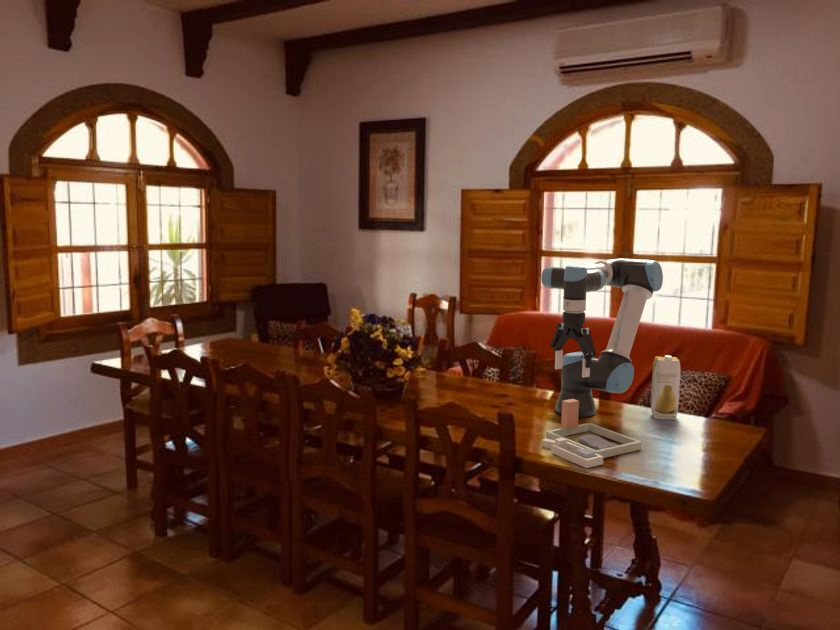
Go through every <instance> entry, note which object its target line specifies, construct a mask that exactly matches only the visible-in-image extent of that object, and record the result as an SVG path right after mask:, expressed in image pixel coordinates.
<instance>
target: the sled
mask: <svg viewBox="0 0 840 630" xmlns="http://www.w3.org/2000/svg"><path fill="white" fill-rule="evenodd" d="M567 439H568V438H567ZM567 439H564V438H558V439H555V444H554V445H552V448H551V453H552V454H553V455H556V456H558V457H560V458H562V459H565V460H567V461H569V462H571V463H574V464H575V465H576V464H577V466H578V465H579V466H580V467H583V468H585V469H589V468H592V467H593V468H594V467H597V466H601V465H604V458H603V456H601V455H598V454H596V453H595V457H592V458H588V459H586V458H583V457H581V456H579V455H576V454H577V450H580V449H584V448H582V447H579V446H577V445H574V444H572V443H570V442H567Z"/></svg>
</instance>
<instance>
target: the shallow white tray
mask: <svg viewBox="0 0 840 630" xmlns="http://www.w3.org/2000/svg"><path fill="white" fill-rule="evenodd" d="M578 413H579V401H578V400H575V399H569V400H563V401H562V414H561V421H560V422H561V423H560V427H561V428H557V429H551V430H546V431H545V438H547V439H551V440H555V439H558V438H564V439H567V442H570V443H572V444H574V445H577V446H579V447H582V448H584V449H585V448H587V449H589V450H592V451H594V452H595V453H596V454H598V455H601V456H603V459H606V458H609V457H614V456H618V455H622V454H626V453H631V452H635V451H639V450H642V446H643V445H642V443H643V441H641V440H638V439H635V438H633V437H630V436H626V435H624V434H622V433H619V432H616V431H613V430H611V429H608V428H606V427H605V428H604V426H603V427H602V426H600V425H597V424H595V423H592V422H586V423H581V424H579V417H578ZM584 432H585V433H586V432H592V433H595V434H597V435H598V436H599V435H600V436H602V437H604V438H608V439H610V440H613V441H616V442H618V443H621V444H618V446H614V447H609V448H605V449H600V450H594V449H592V448H589V447H587V446H584V445H582V444H579V443H578V441H574V440H571V439H569V438H566V436H570V435H574V434H575V435H576V434H582V433H584Z"/></svg>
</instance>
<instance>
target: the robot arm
mask: <svg viewBox="0 0 840 630" xmlns="http://www.w3.org/2000/svg"><path fill="white" fill-rule="evenodd" d="M541 272H542V273H541V275H540V276H541V283H542V286H543V287H546V288H548V289H558V290H559V289H560V290H563V301H562V302H563V303H562V310H563V312H562V322H558V323H557V324H556V325H557V326H556V330H555V333H554V335H553V337H552V340H551V342H550V345H549V346H550V348H552V349H553V350H554V356H553V357H554V369H555V370H561V388H560V393H559V397H558V399H557V400H558V401H557V402H556V404H555V411H556V413H558V414H560V415H562V401H563V400H569V399H575V400H578V401H579V413H578V418H579V417H582V418H585V417H591V416H594V415H596V412H597V406H596V404H595V403H596V402H595V399H594V396H593V389H594V390H598V391H603V392H607V393H611V394H612V393H613V394H614V393H615V394H622V393H623V394H624V393H625V392H626V391H627V390H628V389H629V388H630V387H631V385H632V383H633V380H634V377H635V375H634V374H635V367H634V366H633V364H632V359H631V357H630V354H631V350H632V347H633V345H634V342H635V338H636V335H637V332H638V329H639V325H640V323H641V319H642V315H643V313H644V310H645V305H646V302H647V300H649V299H651V298H652V297H653V294H654V292H659V291H660V290H661V289H662V286H663V282H664V273H663V268H662V266H661V264H660V262H658V261H657V260H652V259H642V258H641V259H639V258H638V259H637V258H625V257H624V258H622V257H620V258H619V257H618V258H612V259H607V260H600V261H596V262H594V263H593V264H584V265H583V264H582V265H567V266H562V267H555V266H546V267H545V268H544V269H543V270H542V271H541ZM605 286H609V287H614V288H621V291H622V292H623V297H622V299H621V303H620V305H619V308H618V312H617V315H616V318H615V321H614V324H613V327H612V331H611V333H610V337H609V339H608V343H607V346H606V349H604V350H602V351H601V352H600V353H599V357H597V352H596V348H595V346H594V342H593V338H592V335H591V333H592V332H591V328H590V327H585V328H584V324H585V323H586V308H587V306H586V305H587V293H591V292H597V291H599V290H602V289H603V288H604V287H605ZM569 339H572V340H575V342H577V344H578V346H579V349H580V350H581V351H575V352H569V353H568V352H567V353H565V354H564V353H563V352H564V350H563V347H564V346H565V344H566V343H567V342H568V340H569ZM563 354H564V355H563Z"/></svg>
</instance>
